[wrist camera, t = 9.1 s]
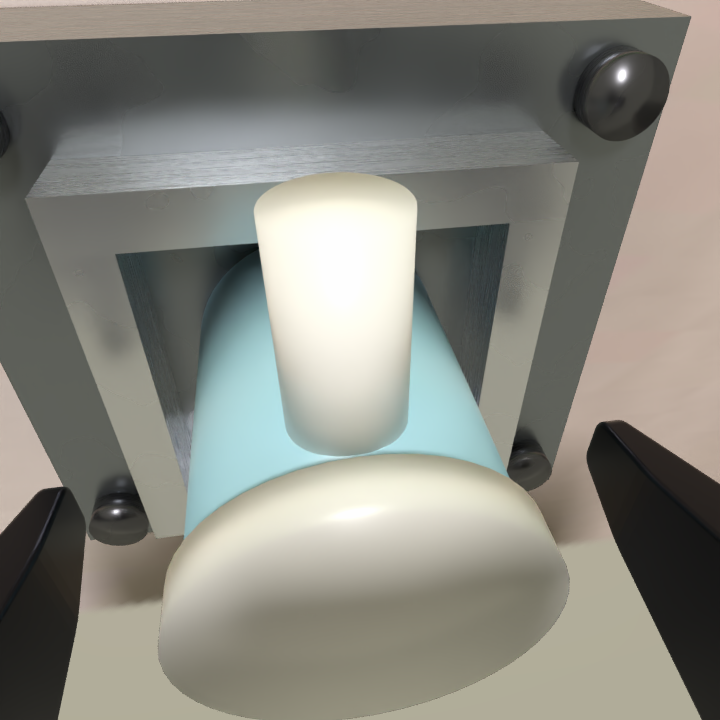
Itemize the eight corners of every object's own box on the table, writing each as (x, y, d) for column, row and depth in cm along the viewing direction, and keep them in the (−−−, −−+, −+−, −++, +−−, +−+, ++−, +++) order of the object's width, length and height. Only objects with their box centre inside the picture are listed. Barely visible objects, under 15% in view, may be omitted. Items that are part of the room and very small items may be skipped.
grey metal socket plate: (109, 456, 18) (79, 591, 15) (-74, 10, 11) (-223, 75, 7) (512, 409, 20) (570, 521, 16) (606, -11, 12) (750, 35, 9)
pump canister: (216, 438, 14) (203, 746, 9) (124, 86, 9) (-15, 350, 4) (433, 410, 15) (532, 685, 10) (461, 64, 10) (699, 271, 5)
